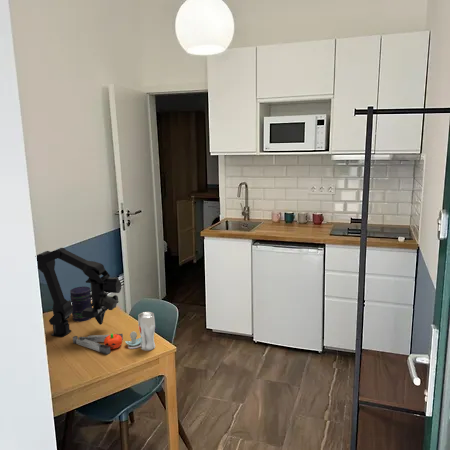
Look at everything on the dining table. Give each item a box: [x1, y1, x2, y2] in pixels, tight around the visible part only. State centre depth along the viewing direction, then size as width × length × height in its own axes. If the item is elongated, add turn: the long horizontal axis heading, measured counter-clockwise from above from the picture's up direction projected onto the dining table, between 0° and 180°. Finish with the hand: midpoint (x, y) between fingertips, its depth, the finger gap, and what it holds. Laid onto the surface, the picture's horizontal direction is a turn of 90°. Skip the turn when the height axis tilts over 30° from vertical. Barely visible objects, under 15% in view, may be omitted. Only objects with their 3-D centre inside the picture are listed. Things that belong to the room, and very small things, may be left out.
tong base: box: [72, 335, 111, 356], centre depth 178 cm, size 22×2×3 cm, turn 59°
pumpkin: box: [103, 333, 123, 350], centre depth 179 cm, size 7×8×6 cm
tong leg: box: [78, 333, 124, 343], centre depth 184 cm, size 19×2×3 cm, turn 93°
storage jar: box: [69, 286, 93, 323], centre depth 208 cm, size 10×10×15 cm
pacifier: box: [124, 330, 141, 350], centre depth 179 cm, size 7×6×6 cm
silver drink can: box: [137, 311, 156, 352], centre depth 177 cm, size 7×7×15 cm
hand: (100, 324), depth 188 cm, fingers closed
